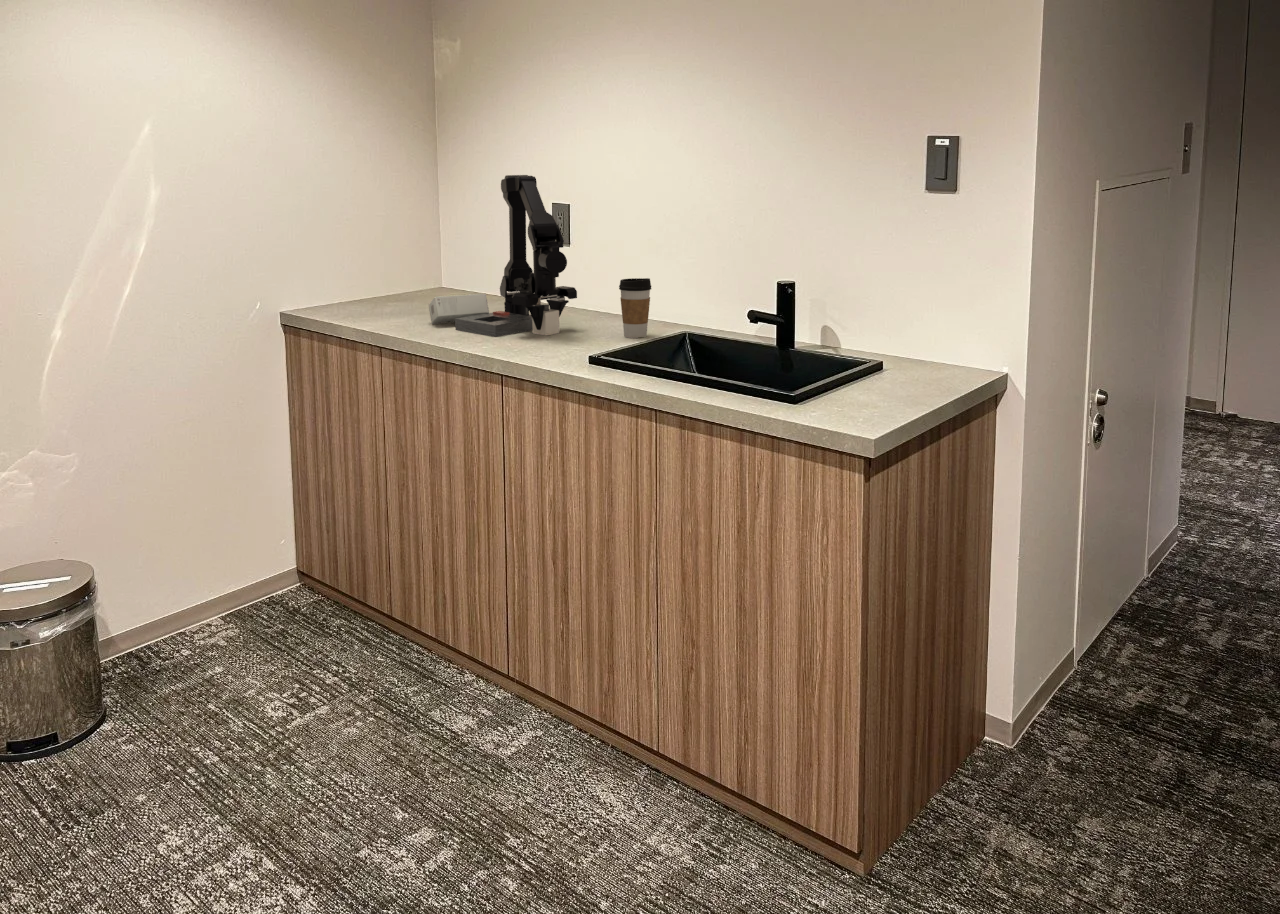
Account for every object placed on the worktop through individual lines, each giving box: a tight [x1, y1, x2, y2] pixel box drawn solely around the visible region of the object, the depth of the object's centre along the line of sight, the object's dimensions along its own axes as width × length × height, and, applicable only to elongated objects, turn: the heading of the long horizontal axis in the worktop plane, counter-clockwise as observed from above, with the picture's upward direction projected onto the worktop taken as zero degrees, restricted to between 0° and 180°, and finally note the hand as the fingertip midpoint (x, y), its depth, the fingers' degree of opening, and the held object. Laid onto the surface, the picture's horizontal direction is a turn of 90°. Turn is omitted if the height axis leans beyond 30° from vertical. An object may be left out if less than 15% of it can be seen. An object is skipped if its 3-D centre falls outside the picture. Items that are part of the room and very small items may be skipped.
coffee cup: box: [618, 277, 652, 339], centre depth 301 cm, size 8×8×15 cm
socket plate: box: [454, 310, 533, 338], centre depth 313 cm, size 16×16×4 cm
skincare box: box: [428, 293, 490, 325], centre depth 321 cm, size 8×6×15 cm
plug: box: [532, 303, 560, 336], centre depth 307 cm, size 5×5×8 cm
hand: (545, 328), depth 307 cm, fingers closed on plug, 5 cm apart
